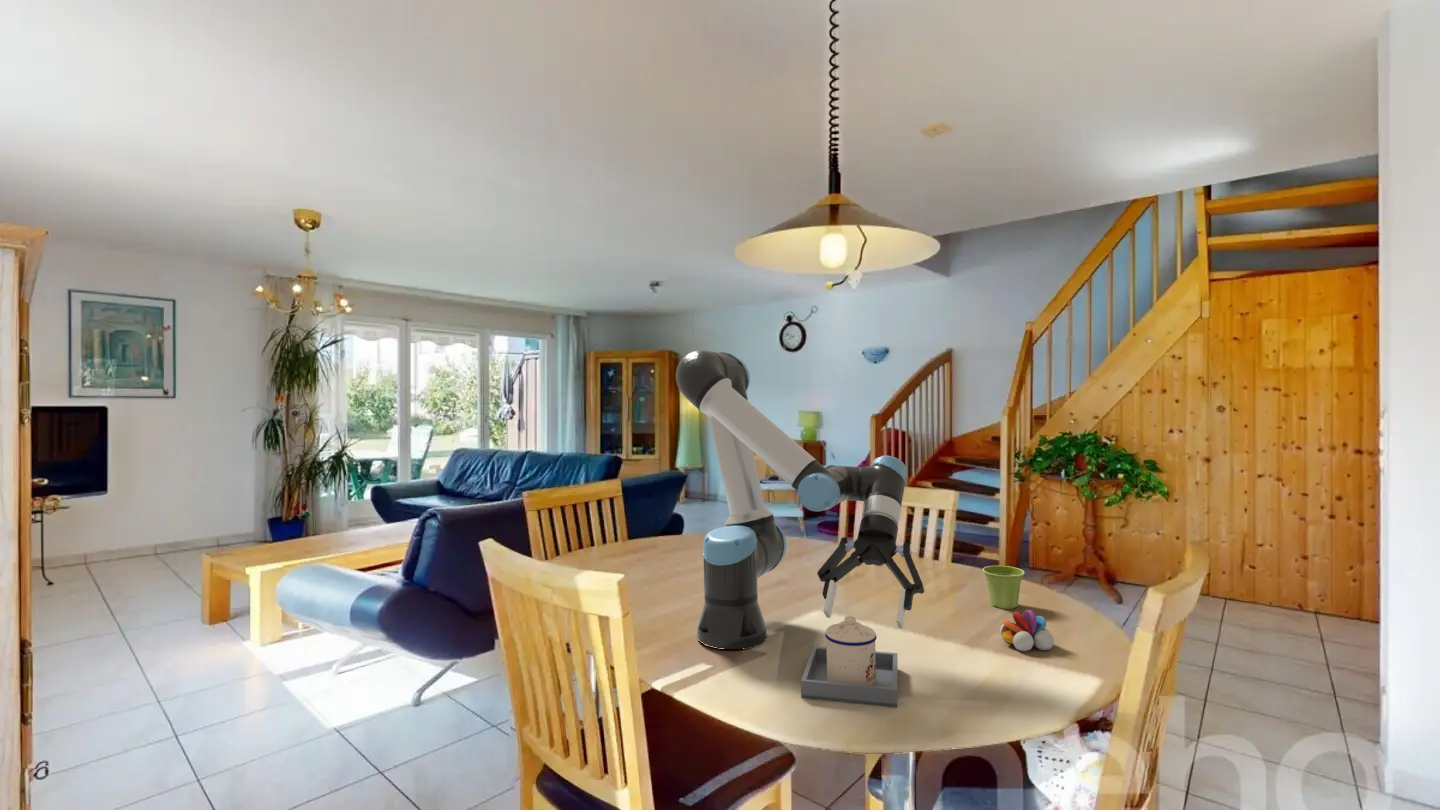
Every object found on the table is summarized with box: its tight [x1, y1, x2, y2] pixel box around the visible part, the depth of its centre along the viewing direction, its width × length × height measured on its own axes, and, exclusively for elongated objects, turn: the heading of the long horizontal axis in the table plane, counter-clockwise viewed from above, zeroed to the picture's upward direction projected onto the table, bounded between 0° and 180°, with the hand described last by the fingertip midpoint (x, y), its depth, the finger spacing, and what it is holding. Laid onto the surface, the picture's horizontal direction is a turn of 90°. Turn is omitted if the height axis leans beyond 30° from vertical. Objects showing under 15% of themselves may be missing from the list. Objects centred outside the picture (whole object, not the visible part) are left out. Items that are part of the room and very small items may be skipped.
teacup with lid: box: [824, 615, 878, 686], centre depth 116 cm, size 12×9×12 cm
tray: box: [800, 646, 899, 709], centre depth 116 cm, size 16×16×3 cm
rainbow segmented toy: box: [999, 609, 1055, 652], centre depth 132 cm, size 8×10×7 cm
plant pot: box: [982, 565, 1026, 610], centre depth 157 cm, size 9×9×9 cm
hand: (862, 619), depth 118 cm, fingers open, 13 cm apart
